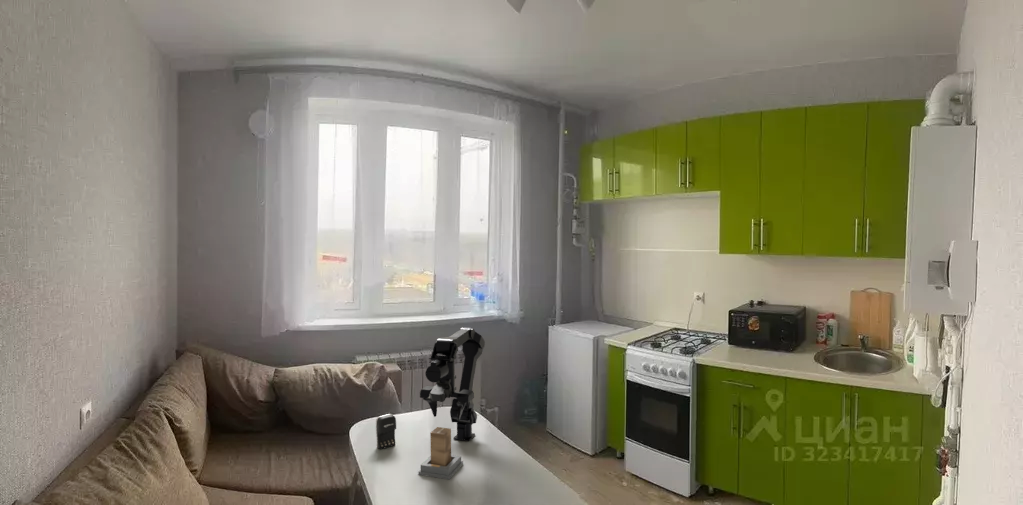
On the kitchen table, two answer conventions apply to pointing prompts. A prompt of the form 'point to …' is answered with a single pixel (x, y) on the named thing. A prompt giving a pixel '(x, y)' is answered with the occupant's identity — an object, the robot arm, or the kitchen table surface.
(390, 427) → the battery charger
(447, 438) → the tall cardboard box
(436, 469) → the square gray tray
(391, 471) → the kitchen table surface
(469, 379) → the robot arm
